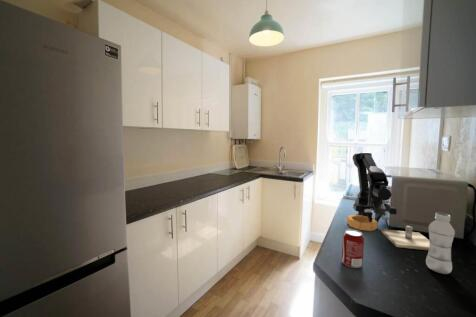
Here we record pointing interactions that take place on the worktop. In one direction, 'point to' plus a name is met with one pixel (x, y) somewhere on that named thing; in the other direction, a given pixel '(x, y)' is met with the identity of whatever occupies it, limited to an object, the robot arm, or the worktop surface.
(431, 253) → the plastic bottle
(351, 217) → the orange octagonal ring
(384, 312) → the worktop surface
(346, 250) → the soda can
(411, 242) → the hook stand
